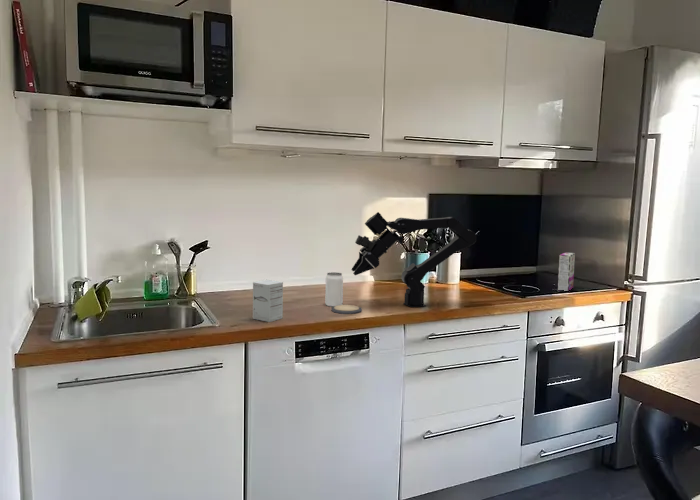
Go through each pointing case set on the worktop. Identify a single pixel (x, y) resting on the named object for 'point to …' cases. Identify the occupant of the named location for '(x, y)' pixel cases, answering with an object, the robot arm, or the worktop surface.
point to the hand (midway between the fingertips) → (353, 272)
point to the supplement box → (267, 300)
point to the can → (334, 289)
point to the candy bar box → (566, 271)
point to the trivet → (346, 309)
